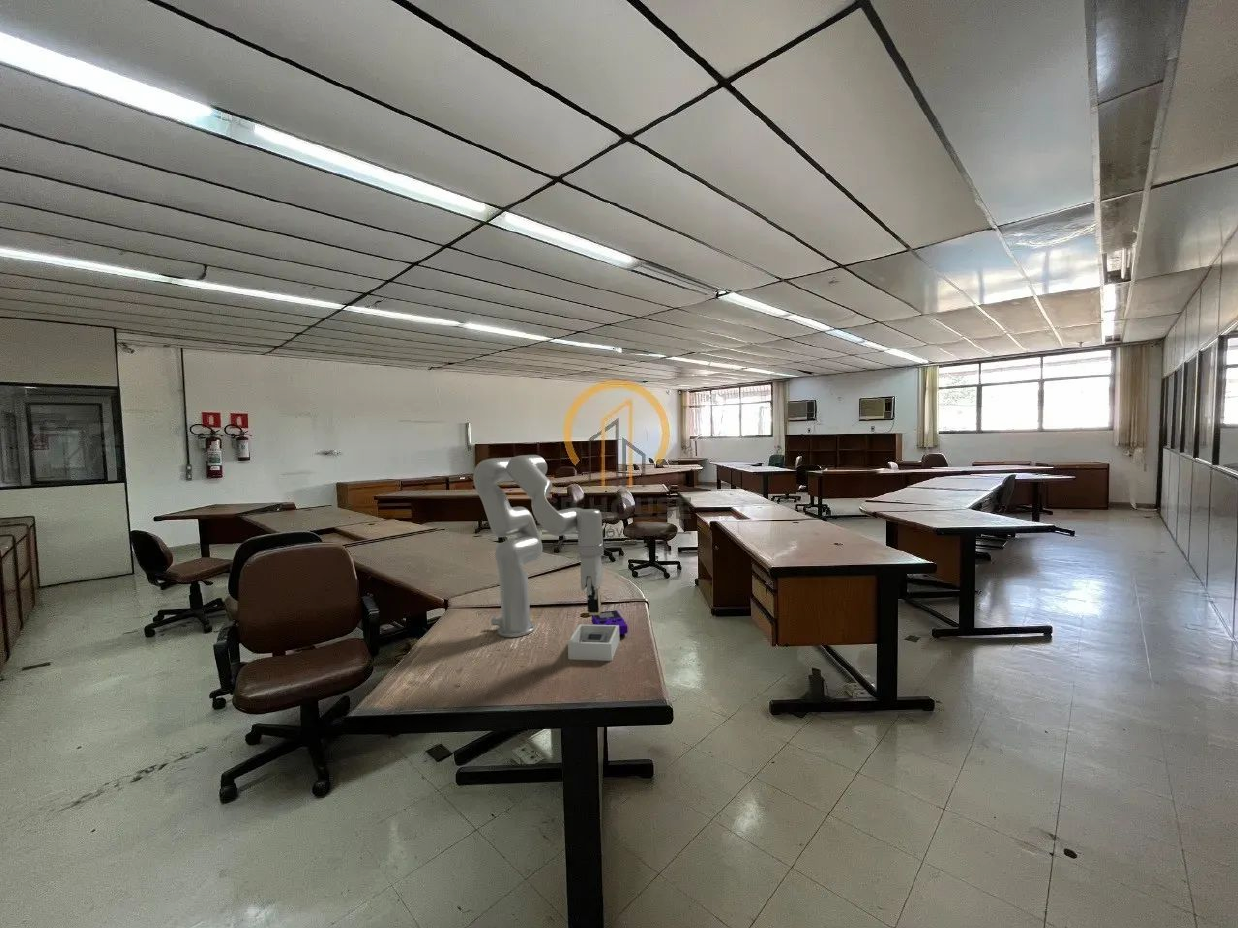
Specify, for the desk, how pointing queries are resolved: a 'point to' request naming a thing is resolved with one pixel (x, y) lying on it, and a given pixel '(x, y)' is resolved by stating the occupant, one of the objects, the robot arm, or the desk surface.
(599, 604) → the peg
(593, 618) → the handheld gaming console
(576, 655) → the box
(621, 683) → the desk surface
